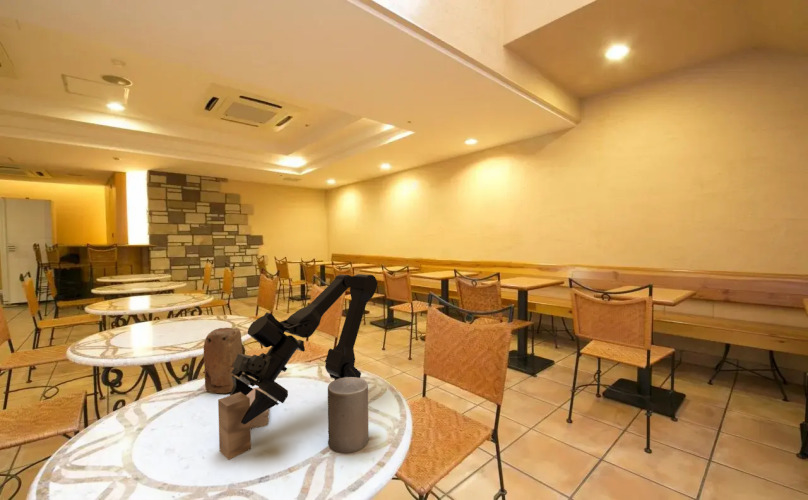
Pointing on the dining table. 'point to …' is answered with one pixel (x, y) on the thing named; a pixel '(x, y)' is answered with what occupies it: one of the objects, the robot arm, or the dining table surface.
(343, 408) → the pillar candle
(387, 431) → the dining table surface
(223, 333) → the block
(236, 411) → the walnut block
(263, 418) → the brick
